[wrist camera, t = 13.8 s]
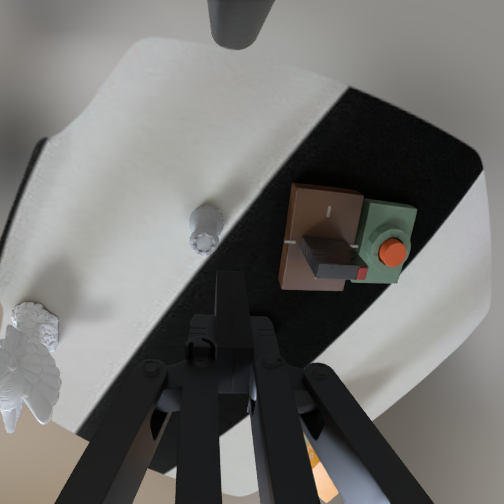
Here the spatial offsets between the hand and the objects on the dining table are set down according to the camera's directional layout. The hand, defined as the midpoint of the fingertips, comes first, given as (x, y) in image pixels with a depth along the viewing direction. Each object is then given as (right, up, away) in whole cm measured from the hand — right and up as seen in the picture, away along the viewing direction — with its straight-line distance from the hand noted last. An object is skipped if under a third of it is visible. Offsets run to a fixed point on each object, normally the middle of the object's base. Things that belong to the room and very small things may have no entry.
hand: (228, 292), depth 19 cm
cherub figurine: (-35, -11, +29) cm, 47 cm away
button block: (+20, +4, +27) cm, 34 cm away
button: (+21, +3, +24) cm, 31 cm away
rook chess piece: (-5, +6, +24) cm, 25 cm away
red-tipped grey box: (+10, +3, +23) cm, 26 cm away
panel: (+10, +5, +26) cm, 28 cm away
